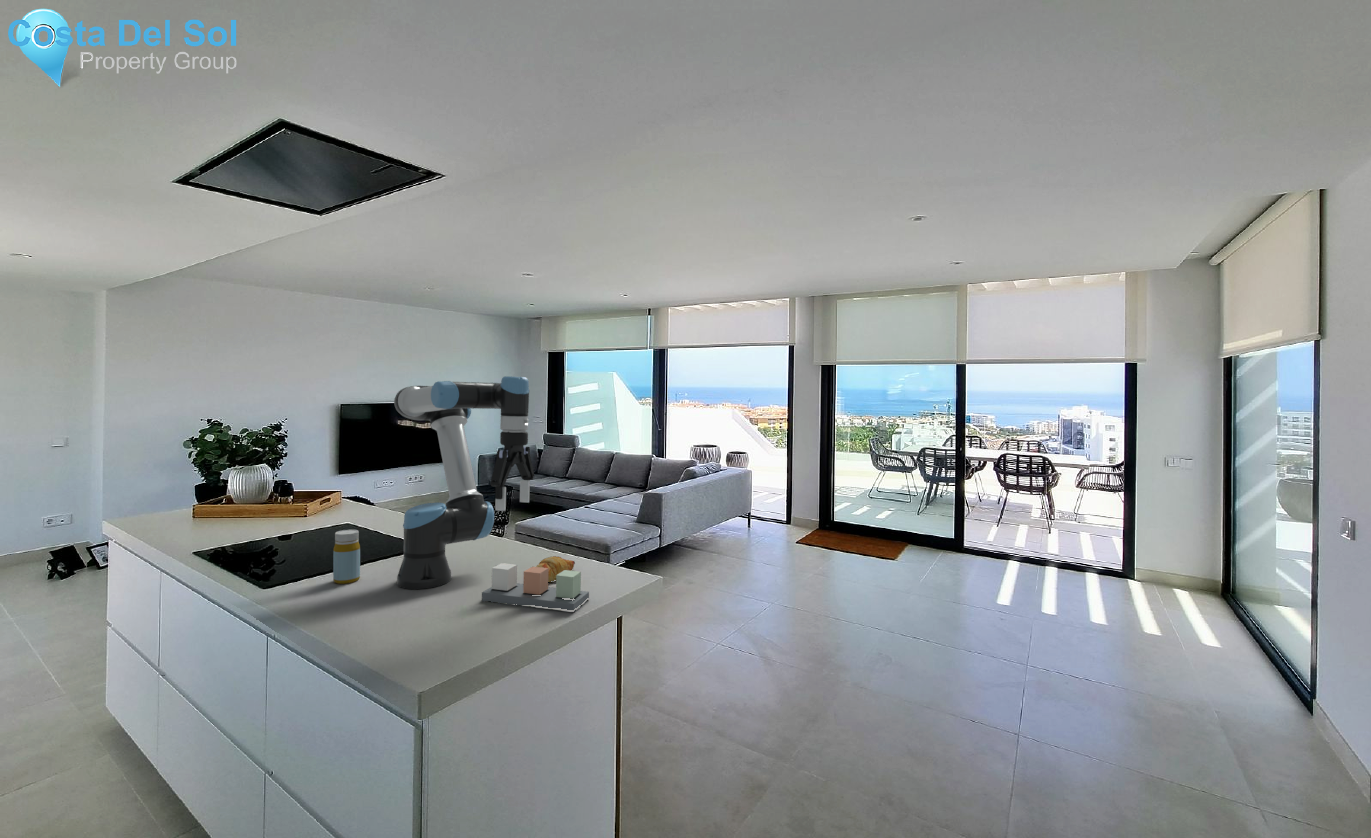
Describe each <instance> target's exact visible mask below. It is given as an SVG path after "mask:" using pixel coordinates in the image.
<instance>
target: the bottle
mask: <svg viewBox="0 0 1371 838" xmlns="http://www.w3.org/2000/svg"><path fill="white" fill-rule="evenodd" d="M359 533H360V532H359V530H357V529H343V530H338V531H336V532H335V533H334V547H333V551H332V552H333V554H332V555H333V556H332V558H333V559H332V561H333V564H332V565H333V571H332V574H333V576H332V577H333V583H336V584H337V585H347V584H352V583H356V582H357V581H358V580H360V578H361V545H360V543H359V540H360V539H359V538H360V537H359Z"/></svg>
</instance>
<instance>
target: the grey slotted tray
mask: <svg viewBox="0 0 1371 838" xmlns="http://www.w3.org/2000/svg"><path fill="white" fill-rule="evenodd" d="M523 584H524V583H520V582H517V585H516V586H515V587H513V588H511V589H510V590H508V591H505V590H497V589H492V586H490V587H489V588H487V589H486V590H483V591H482V592H481V602H485V601H491V602H490V603H493V602H498V603H497V604H500V603H507V604H506V605H508V604H515V605H514V606H516V604H517V605H535V606H542V607H548V608H561V609H567V610H574V609H575V608H577V607H578V606H579V605H581V604H582V603H583V602H584V601H585V600H586V599H587V598H589V599H590V591H586V590H581V591H580V594H578V595H577V596H576V597H574V599H575V600H573V601H572V600H564V599H562V597H556V587H552V586H548V589H547V590H546V591H544V592H543V593H541V594H540V595H541V596H532V595H538V594H530V593H523Z"/></svg>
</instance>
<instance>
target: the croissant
mask: <svg viewBox="0 0 1371 838" xmlns="http://www.w3.org/2000/svg"><path fill="white" fill-rule="evenodd" d="M575 564H576V563H575V560H571V559H565V558H562V557H561V556H556V555H555V556H549V557H546V558H543V559H542V560H540V561H539V563H538V564H537V565H536V566H535V567H542V568H549V571H548V582H550V583H552V582H551V581H554V580H556V575H558V574H559V573H561V572H562V571H564V570H569V571H573V569H574V566H575Z"/></svg>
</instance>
